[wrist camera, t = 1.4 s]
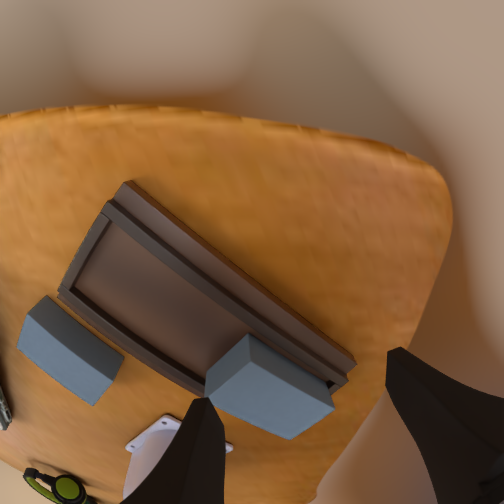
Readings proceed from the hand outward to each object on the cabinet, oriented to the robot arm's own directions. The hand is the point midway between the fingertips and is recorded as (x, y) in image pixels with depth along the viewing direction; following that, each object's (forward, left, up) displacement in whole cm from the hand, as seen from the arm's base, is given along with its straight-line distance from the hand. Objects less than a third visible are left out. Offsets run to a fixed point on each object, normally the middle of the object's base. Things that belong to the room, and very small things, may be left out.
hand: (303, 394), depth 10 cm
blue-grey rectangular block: (-5, -4, -8) cm, 11 cm away
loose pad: (-14, +9, -9) cm, 19 cm away
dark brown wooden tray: (-5, +1, -9) cm, 11 cm away
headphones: (-51, -3, -10) cm, 52 cm away
